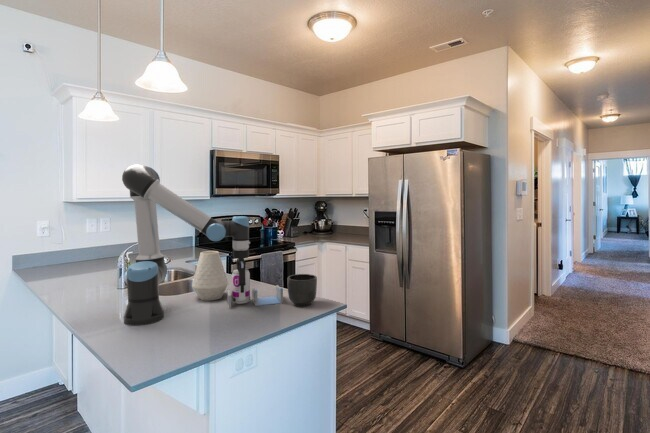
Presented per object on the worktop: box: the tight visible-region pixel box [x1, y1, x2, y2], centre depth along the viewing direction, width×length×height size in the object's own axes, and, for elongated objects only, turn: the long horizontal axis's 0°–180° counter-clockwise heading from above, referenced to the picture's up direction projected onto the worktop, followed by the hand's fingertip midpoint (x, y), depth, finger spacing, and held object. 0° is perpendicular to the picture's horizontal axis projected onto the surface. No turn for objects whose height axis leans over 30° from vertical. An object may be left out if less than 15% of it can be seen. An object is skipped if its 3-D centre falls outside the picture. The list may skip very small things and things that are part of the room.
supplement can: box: [231, 268, 251, 305], centre depth 176 cm, size 8×8×15 cm
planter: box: [286, 273, 318, 307], centre depth 175 cm, size 14×14×13 cm
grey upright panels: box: [226, 284, 284, 310], centre depth 178 cm, size 25×12×7 cm, turn 108°
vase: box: [191, 250, 229, 302], centre depth 187 cm, size 17×17×23 cm
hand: (241, 296), depth 176 cm, fingers closed on supplement can, 8 cm apart
